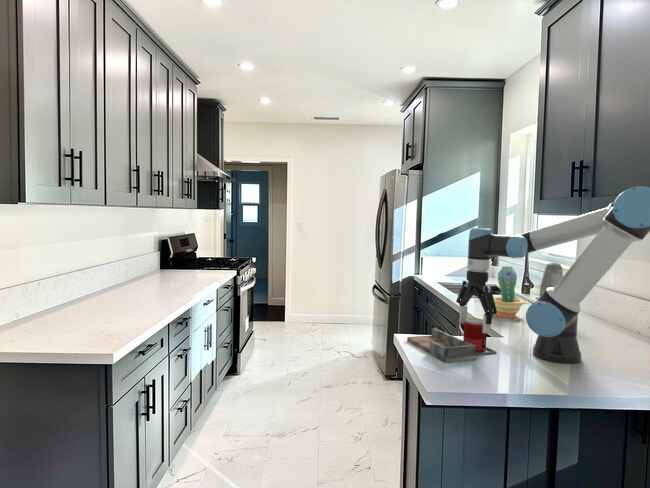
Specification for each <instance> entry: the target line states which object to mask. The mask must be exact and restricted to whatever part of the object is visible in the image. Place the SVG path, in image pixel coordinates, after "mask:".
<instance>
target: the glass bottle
mask: <svg viewBox="0 0 650 488" xmlns="http://www.w3.org/2000/svg"><path fill="white" fill-rule="evenodd" d="M563 273H564V272H563V267H562V266H561V264H559V263H557V262H549V263H547V264H546V266H545V268H544V274H543V277H542V281H541V285H540V290H539V297H540V296H541V295H542V292H543V291H545V290H546V289H547V288H552V287H555V286H556V285H557V283H558V282H559V281H560V280H561V278H562V277H563V276H564V274H563Z"/></svg>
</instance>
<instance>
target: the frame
mask: <svg viewBox="0 0 650 488" xmlns="http://www.w3.org/2000/svg"><path fill="white" fill-rule="evenodd" d="M486 350H487V351H485V352H481V353H476V356H483V355H484V356H485V355H493V354H497V351H496V350H494V349H492V348H489V347H487V346H486Z"/></svg>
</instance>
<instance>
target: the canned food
mask: <svg viewBox="0 0 650 488" xmlns="http://www.w3.org/2000/svg"><path fill="white" fill-rule="evenodd" d="M482 332H483V319H482V318H477V317H476V318H475V317H467V318H466V319H465V320H464V323H463V340H462V341H464V342H466V343H469V344H471V345H476V353H481V352H486V350H487V349H486V347H487V334H488V333H482Z"/></svg>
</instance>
